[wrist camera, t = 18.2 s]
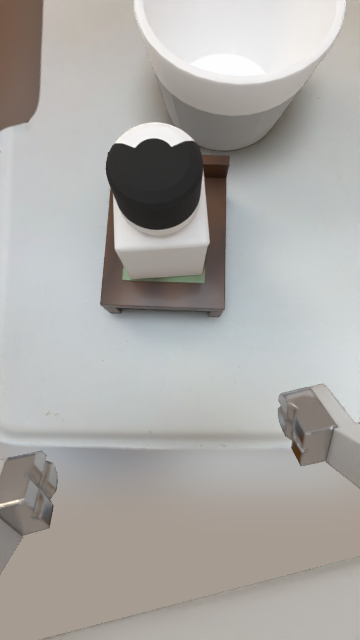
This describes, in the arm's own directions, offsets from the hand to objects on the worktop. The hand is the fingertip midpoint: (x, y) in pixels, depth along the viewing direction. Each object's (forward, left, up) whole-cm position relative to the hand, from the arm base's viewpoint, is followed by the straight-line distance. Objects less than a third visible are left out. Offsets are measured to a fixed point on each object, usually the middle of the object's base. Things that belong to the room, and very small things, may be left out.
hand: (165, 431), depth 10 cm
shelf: (-2, +16, -21) cm, 26 cm away
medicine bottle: (-2, +14, -17) cm, 22 cm away
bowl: (+4, +36, -21) cm, 42 cm away
